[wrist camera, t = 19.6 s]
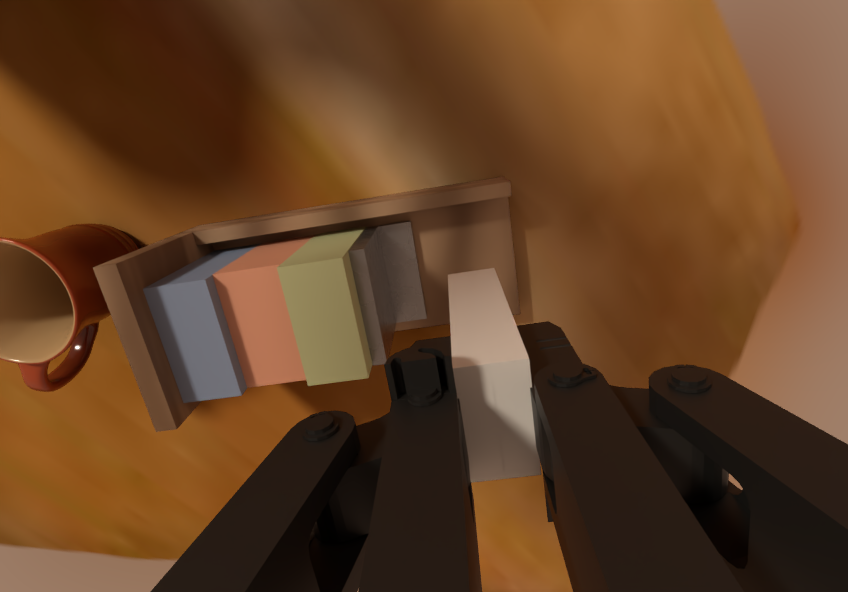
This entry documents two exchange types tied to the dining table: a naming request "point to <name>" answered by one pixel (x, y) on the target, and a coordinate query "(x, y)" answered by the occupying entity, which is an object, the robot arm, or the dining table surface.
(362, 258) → the bookend
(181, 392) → the blue-grey block
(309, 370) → the olive book
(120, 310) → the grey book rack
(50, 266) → the mug
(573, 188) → the dining table surface
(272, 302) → the rust book
